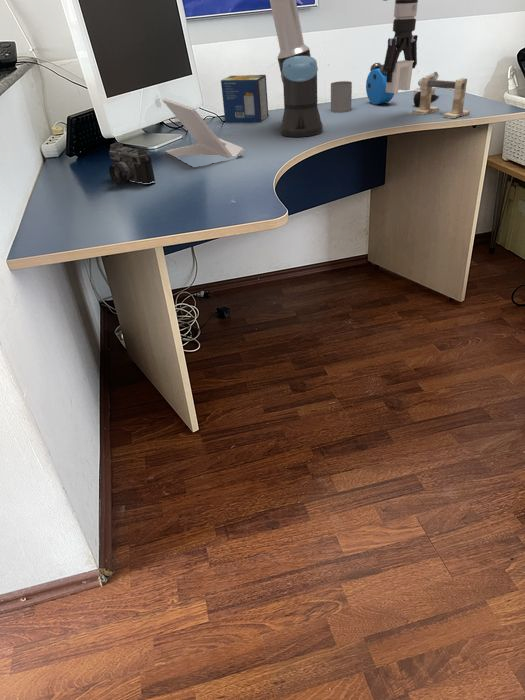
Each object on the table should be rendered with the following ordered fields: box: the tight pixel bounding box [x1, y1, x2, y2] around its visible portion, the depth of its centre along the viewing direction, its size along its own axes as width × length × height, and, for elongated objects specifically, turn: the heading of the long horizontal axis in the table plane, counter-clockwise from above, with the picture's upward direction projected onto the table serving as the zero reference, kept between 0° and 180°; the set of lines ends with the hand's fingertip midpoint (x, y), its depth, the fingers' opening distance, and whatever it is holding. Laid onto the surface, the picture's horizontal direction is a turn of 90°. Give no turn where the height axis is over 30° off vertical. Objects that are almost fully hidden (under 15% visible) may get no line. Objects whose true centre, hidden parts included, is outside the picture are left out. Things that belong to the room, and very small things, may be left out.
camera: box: [108, 142, 156, 184], centre depth 151 cm, size 18×9×10 cm, turn 49°
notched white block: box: [386, 59, 414, 94], centre depth 191 cm, size 9×4×10 cm, turn 131°
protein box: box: [220, 74, 269, 123], centre depth 209 cm, size 10×15×16 cm
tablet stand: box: [162, 97, 245, 158], centre depth 169 cm, size 18×25×17 cm
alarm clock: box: [365, 62, 395, 105], centre depth 215 cm, size 13×6×15 cm, turn 24°
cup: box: [330, 80, 353, 113], centre depth 212 cm, size 8×8×10 cm
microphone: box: [413, 92, 439, 107], centre depth 214 cm, size 6×6×20 cm
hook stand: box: [411, 75, 471, 119], centre depth 193 cm, size 10×18×12 cm, turn 41°
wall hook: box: [413, 71, 440, 97], centre depth 223 cm, size 9×10×10 cm
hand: (397, 90), depth 193 cm, fingers closed on notched white block, 9 cm apart
